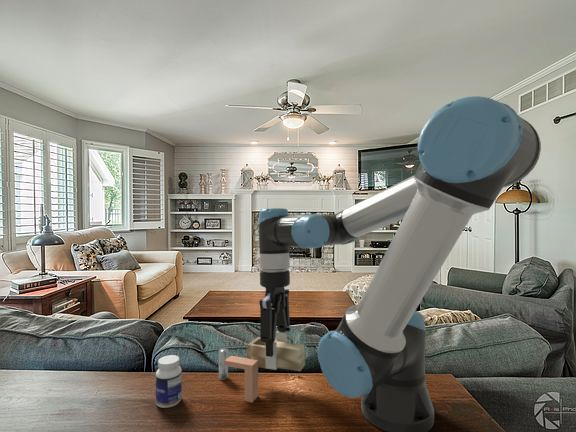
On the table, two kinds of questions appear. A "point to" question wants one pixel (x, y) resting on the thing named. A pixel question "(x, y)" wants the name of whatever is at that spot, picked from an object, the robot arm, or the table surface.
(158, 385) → the pill bottle
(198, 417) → the table surface
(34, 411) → the table surface
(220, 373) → the cylinder
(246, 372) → the keeper
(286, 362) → the link
